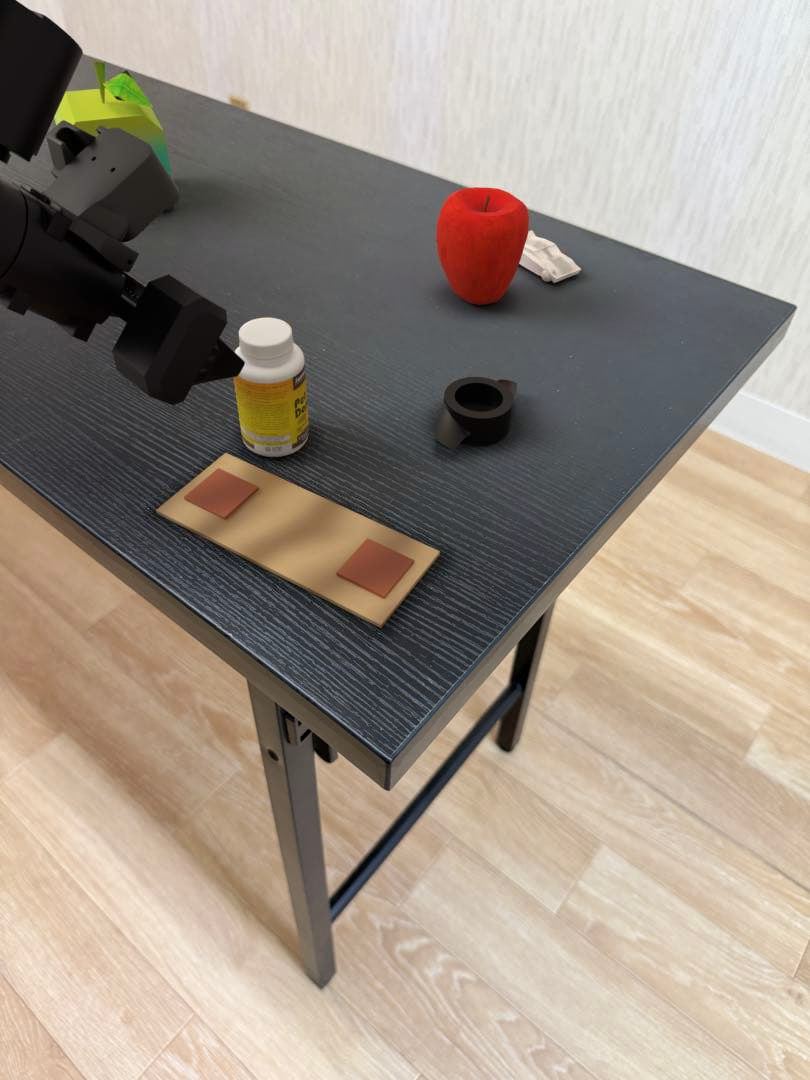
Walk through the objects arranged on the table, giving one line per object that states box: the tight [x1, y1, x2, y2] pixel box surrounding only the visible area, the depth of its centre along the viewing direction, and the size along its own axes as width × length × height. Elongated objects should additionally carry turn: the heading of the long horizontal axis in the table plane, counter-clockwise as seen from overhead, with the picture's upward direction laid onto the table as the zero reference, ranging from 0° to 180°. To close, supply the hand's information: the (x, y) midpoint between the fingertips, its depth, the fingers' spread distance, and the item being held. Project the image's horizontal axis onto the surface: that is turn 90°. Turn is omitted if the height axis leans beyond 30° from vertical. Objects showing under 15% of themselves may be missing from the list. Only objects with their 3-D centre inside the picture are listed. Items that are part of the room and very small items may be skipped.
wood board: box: [155, 452, 441, 629], centre depth 59 cm, size 20×8×1 cm, turn 59°
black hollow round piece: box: [433, 376, 518, 452], centre depth 68 cm, size 8×10×3 cm
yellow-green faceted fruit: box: [53, 61, 173, 179], centre depth 92 cm, size 11×10×15 cm
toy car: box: [519, 229, 582, 284], centre depth 88 cm, size 5×8×2 cm, turn 38°
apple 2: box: [435, 186, 530, 306], centre depth 80 cm, size 9×9×11 cm
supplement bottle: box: [233, 317, 310, 458], centre depth 63 cm, size 6×6×10 cm
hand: (200, 340), depth 56 cm, fingers open, 9 cm apart
